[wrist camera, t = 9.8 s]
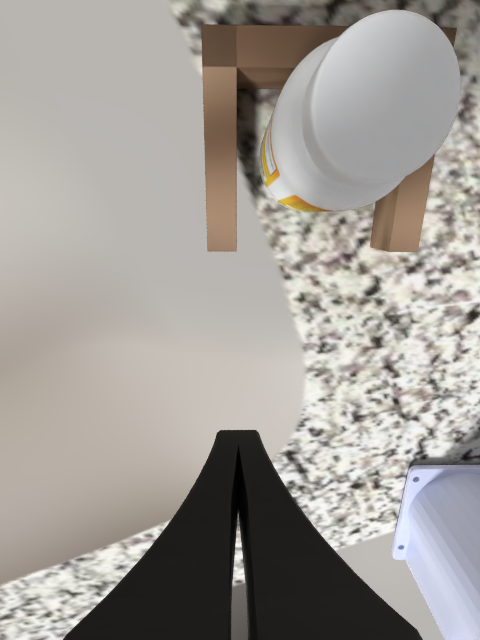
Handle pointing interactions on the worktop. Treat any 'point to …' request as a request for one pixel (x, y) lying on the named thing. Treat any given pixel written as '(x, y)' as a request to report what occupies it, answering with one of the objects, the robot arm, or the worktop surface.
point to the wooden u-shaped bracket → (272, 73)
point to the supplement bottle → (361, 114)
